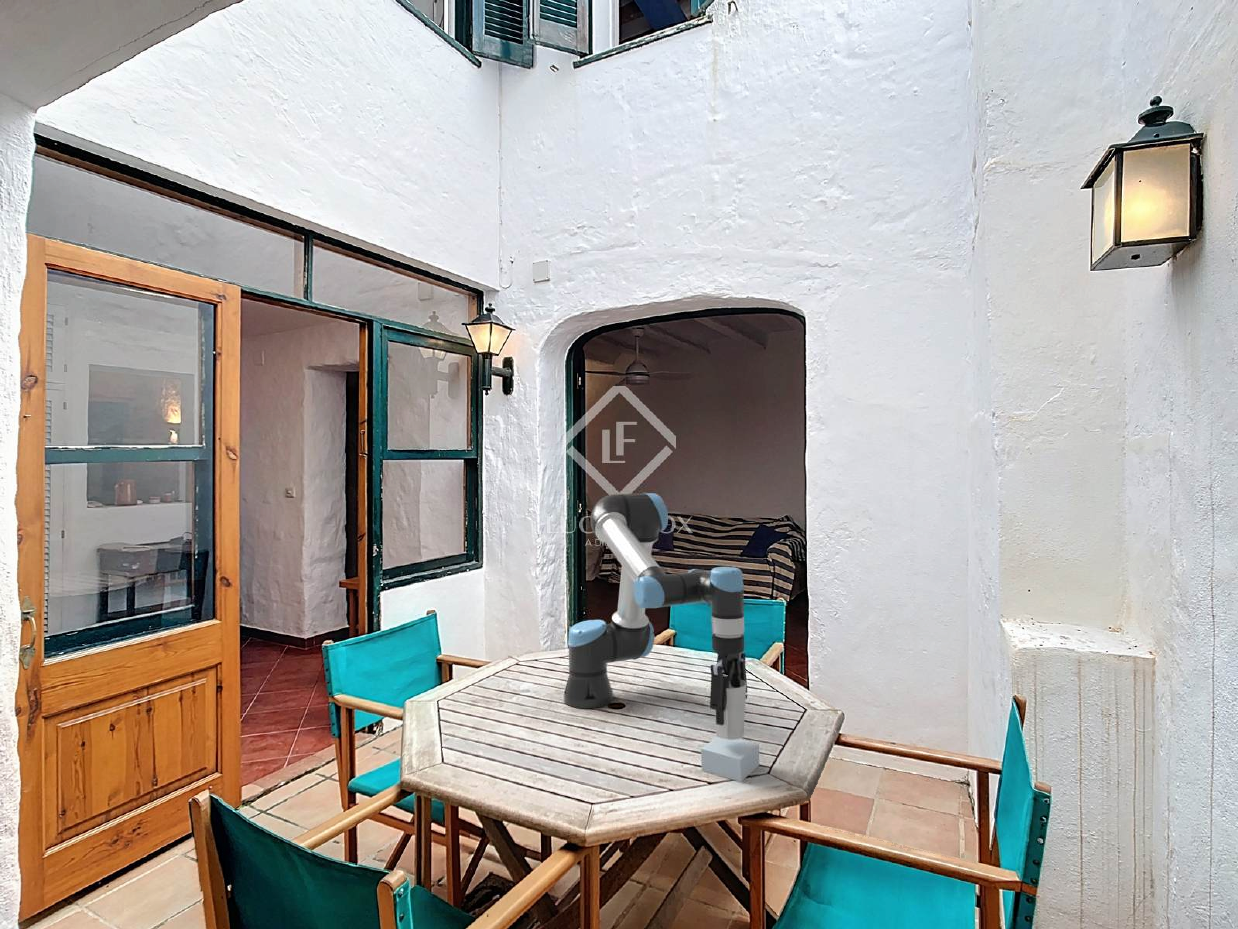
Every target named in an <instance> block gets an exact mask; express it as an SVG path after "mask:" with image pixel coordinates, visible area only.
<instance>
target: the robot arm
mask: <svg viewBox="0 0 1238 929" xmlns="http://www.w3.org/2000/svg"><path fill="white" fill-rule="evenodd" d="M668 523H669V516H668V509H667V506H666V504H665V502H664V500H663V498H662V497H661V496H660V495H659V494H657V493H651V492H649V493H647V492H639V493H638V492H637V493H619V494H618V493H615V494H613V493H612V494H609V495H606V496H604V497H603V498H601V499H599V500H598V502H597V503H596V504H595V505H594V507H593V509H592V511H591V515H590V527H591V529H592V532H593V534H595V536H596V537H597V539H598V540H599V541H601V542H602V543H605V544H606V545H607V547H608V548H609V550H610V551H611V552H612V554H613V555H614V556H615V558H616V559H617V561H618V562H619V564H620V565H621V572H620V582H619V591H618V602H617V611H615V612H614V613H613V614H612V616H611V622H610V623H606V621H604V620H602V619H587V620H583V621H580V622H578V623H575V624H574V625H572V626H571V627H570V629H569V630H568V641H567V645H568V673H569V674H568V678H567V682H566V685H565V689H564V692H563V702H564V704H566V705H567V706H570V707H572V708H577V709H578V708H579V709H593V708H594V709H596V708H601V707H603V706H607V705H609V704H611V703H612V702H613V701H614V690H613V688H612V686H611V683H610V682H611V681H610V680H609V676H608V667H607V666H608V665H607V664H609V663H611V664H612V663H616V662H623V661H628V660H629V661H631V660H639V659H640V658H645V657H647V656H648V655H649V654H650V653H651V652H652V650H653V649H654V648H653V647H654V644H655V634H654V631H655V630H654V626H653V624H652V622H650V620H649V617H648V616H647V615H646V609H657V608H658V609H659V608H664V607H671V606H679V605H686V604H687V605H688V604H689V605H690V604H697V603H705V604H709V605H711V619H710V622H711V631H712V636H711V649H712V651H713V652H715V653H716V654H717V658H716V664H711V665H710V668H709V669H710V675H711V676H710V695H709V696H710V697H709V708H710V710H714V711H715V710H716V716H715V738H716V737H719V738H723V739H728V710H726V702H727V692H726V688H729V681H730V684H731V686H732V687H734V688H739V687H740V680H743V681H745V682H746V699H745V700H747V698H748V694H747V693H748V681H747V669H746V668H747V667H746V657H747V656H746V653H744V651H745V636H744V633H745V616H744V612H745V611H744V609H745V608H744V604H745V603H744V601H745V600H744V597H745V596H744V587H745V585H744V579H743V572H742V571H743V570H741V569H740V568H737V567H735V566H734V567H733V566H732V567H731V566H717V567H714V568H712V569H711V571H708V570H705V569H697V568H692V569H689V570H688V571H687V572H681V573H680V572H678V573H671V574H668V573H665V571H664V570H663V569H662V568H661V566H660V565H659V564H658V563H657V561H656V560H655V559H654V558H653V556H652V550H653V545H654V543H656V542H657V541H658V540H659V533H660V532H663V531H664V530H666V528H667V526H668Z"/></svg>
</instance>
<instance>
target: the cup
mask: <svg viewBox="0 0 1238 929" xmlns="http://www.w3.org/2000/svg"><path fill="white" fill-rule="evenodd" d="M726 692H727V702H726V710H728V740H736V739H742V738H744V737H745V736H744V735H745V718H746V717H745V714H746V713H745V712H746V700H747V699H746V695H747V693H746V682H745V681H743V680H740V687H739V688H734V687H732V686H731V684H730V681H729V688H726ZM714 714H715V715H714V716H715V717H716V710H714Z"/></svg>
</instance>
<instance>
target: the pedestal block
mask: <svg viewBox="0 0 1238 929" xmlns="http://www.w3.org/2000/svg"><path fill="white" fill-rule="evenodd" d="M700 754H701V755H700V763H701V764H700V765H701V771H703V772H705V773H710V774H713V775H716V776H719V777H722V778H726V779H729V780H733V781H736V782H740V783H742V781H744V780H745V779H746V778H747V777H748V776H749V775H750V774H752V773H753V771H754V770H756V769H757V768H758V767H759V766H760V743H759V742H758V743H757V742H753V741H749V740H745V739H742V738H740V739H736V740H728V739H723V738H719V737H716V736H715V738H713V739H712V740H711V741H709V742H708V743H707V744H705V745H704V746H703V747H702V748H700Z"/></svg>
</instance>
